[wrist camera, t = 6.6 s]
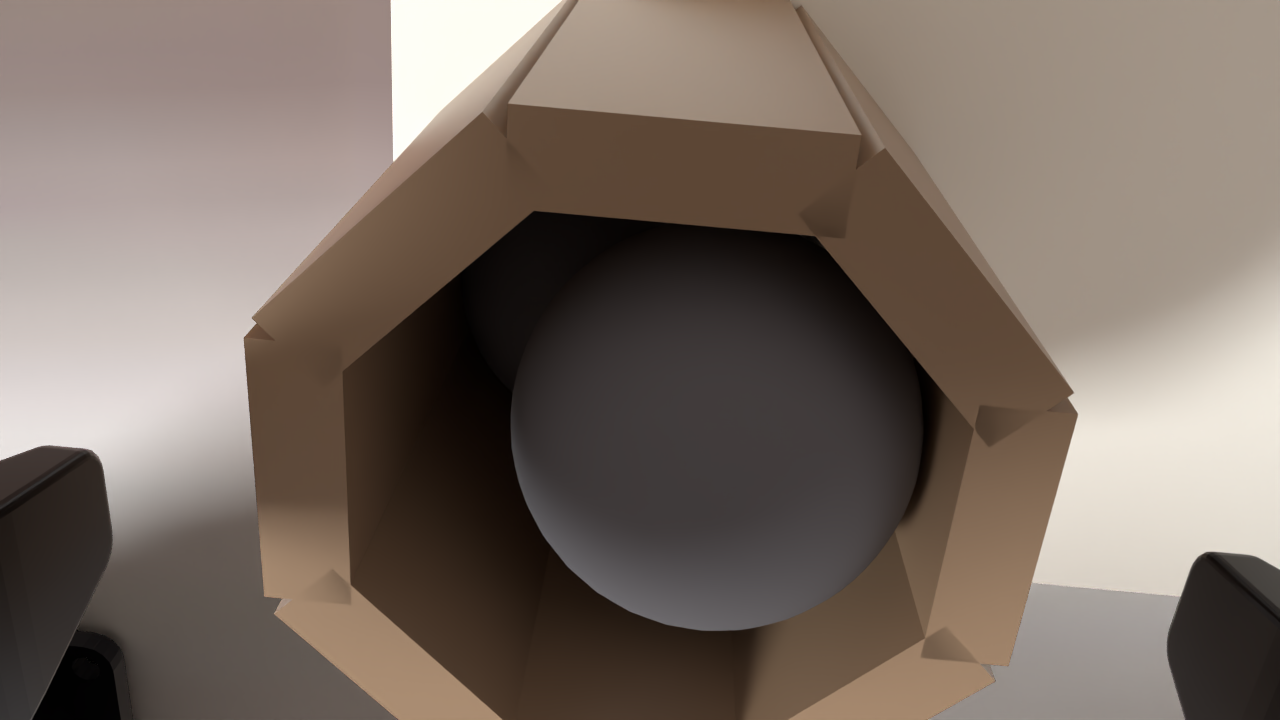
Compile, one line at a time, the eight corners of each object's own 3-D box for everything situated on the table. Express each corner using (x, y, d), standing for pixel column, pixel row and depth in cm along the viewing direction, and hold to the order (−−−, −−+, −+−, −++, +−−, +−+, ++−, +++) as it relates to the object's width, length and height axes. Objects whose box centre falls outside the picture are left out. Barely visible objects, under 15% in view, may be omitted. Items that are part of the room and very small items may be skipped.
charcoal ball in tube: (766, 375, 17) (734, 517, 13) (511, 336, 18) (413, 461, 14) (803, 111, 15) (778, 192, 12) (519, 75, 16) (411, 144, 12)
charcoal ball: (735, 467, 14) (970, 644, 11) (444, 542, 12) (636, 782, 9) (773, 159, 13) (1056, 270, 10) (444, 188, 11) (676, 338, 8)
